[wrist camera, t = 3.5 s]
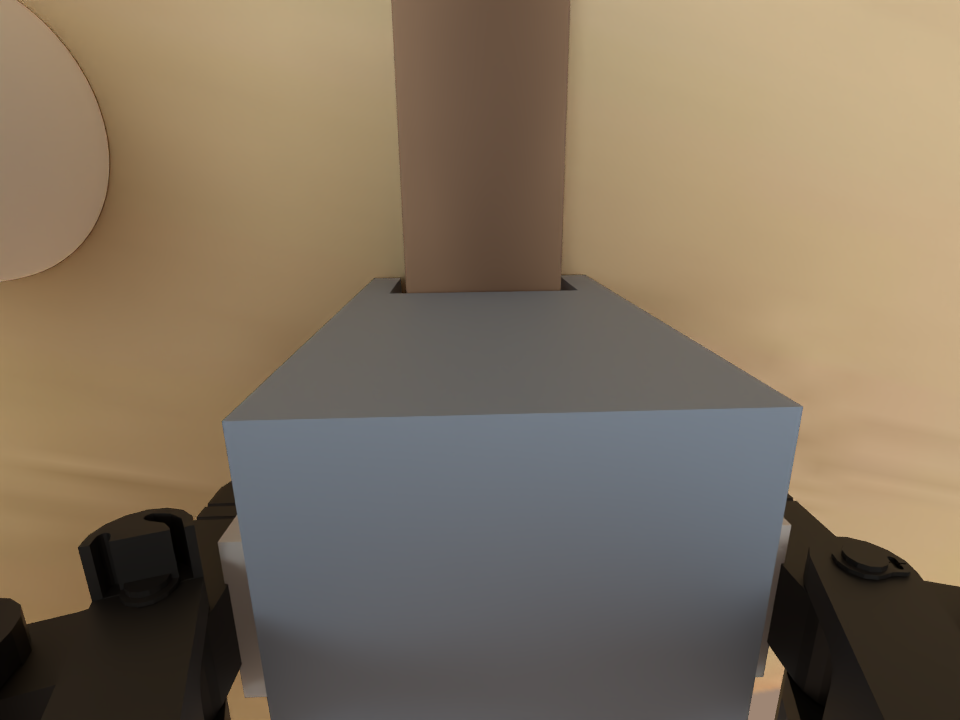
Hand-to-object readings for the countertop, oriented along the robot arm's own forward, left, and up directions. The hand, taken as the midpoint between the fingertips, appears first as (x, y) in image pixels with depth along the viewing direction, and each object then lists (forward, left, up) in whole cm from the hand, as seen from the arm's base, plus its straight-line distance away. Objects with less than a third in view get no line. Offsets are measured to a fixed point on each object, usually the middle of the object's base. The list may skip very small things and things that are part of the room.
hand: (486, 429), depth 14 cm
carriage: (0, 0, -4) cm, 4 cm away
